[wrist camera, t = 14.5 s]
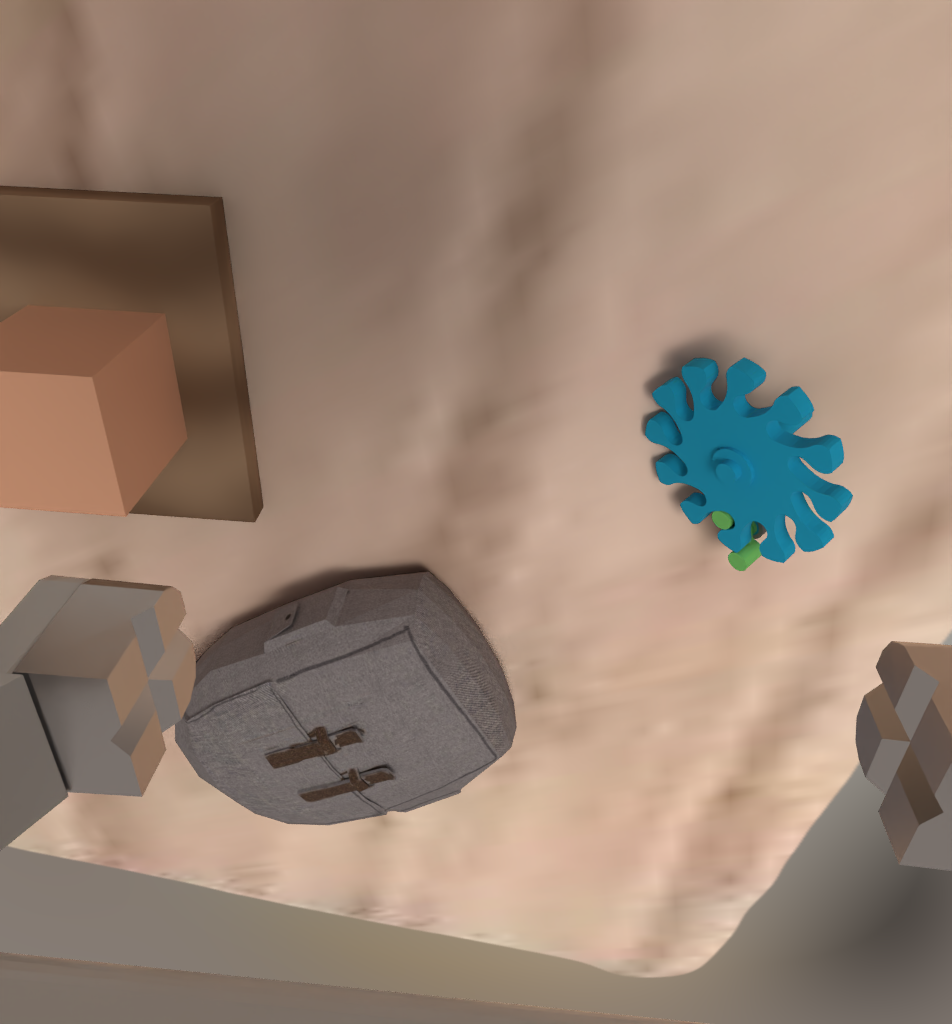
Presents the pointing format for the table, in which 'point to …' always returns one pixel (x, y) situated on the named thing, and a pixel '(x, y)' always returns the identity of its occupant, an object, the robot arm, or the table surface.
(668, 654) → the table surface
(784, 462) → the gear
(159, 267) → the stub plate
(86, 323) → the salmon orange block
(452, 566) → the table surface
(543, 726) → the table surface
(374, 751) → the small grey backpack
